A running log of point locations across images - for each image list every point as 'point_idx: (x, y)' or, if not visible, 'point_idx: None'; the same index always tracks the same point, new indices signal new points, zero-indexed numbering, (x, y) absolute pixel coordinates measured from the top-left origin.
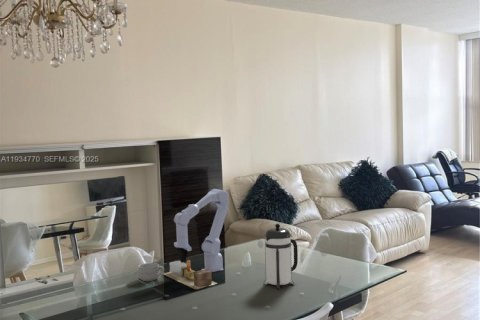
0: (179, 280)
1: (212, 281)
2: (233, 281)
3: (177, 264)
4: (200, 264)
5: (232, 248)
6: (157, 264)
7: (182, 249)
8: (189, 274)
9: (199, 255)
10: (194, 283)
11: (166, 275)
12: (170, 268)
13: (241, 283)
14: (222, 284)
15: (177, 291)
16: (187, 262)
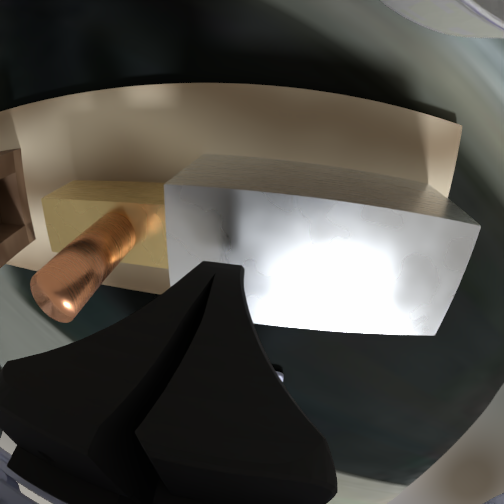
0: (158, 104)
1: (30, 266)
2: (27, 328)
3: (331, 237)
4: (377, 411)
5: (385, 495)
6: (491, 14)
7: (59, 468)
8: (74, 190)
9: (455, 440)
10: (8, 151)
11: (393, 107)
12: (436, 197)
13: (4, 324)
14: (6, 275)
15: (21, 20)
16: (48, 262)
